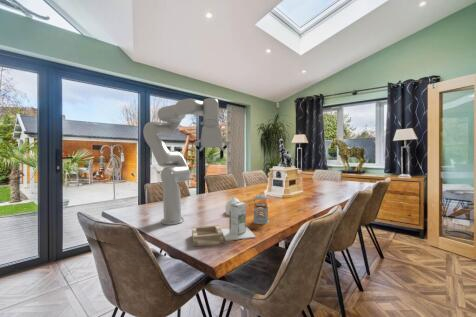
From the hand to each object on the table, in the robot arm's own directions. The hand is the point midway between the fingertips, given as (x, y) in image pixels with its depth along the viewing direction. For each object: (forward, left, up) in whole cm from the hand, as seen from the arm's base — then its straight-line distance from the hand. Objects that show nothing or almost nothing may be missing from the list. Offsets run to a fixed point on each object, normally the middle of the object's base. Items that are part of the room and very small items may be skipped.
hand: (211, 159), depth 117 cm
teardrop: (-30, +18, -37) cm, 51 cm away
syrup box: (+7, +11, -36) cm, 38 cm away
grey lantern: (-9, +28, -36) cm, 47 cm away
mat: (+7, +11, -36) cm, 39 cm away
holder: (+10, -4, -36) cm, 38 cm away
